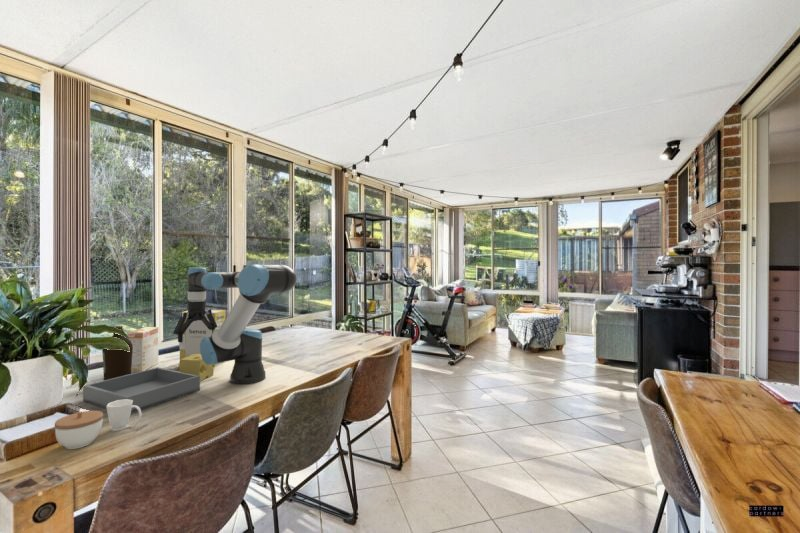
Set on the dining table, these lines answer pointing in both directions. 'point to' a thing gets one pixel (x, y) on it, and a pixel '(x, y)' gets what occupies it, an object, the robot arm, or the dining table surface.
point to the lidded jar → (78, 429)
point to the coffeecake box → (144, 348)
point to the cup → (121, 413)
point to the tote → (142, 388)
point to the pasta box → (199, 334)
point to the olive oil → (117, 360)
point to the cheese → (195, 366)
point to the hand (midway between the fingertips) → (196, 346)
